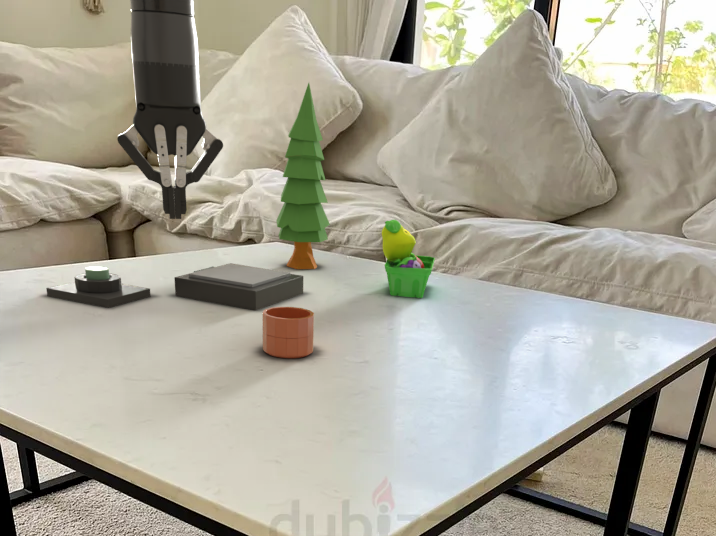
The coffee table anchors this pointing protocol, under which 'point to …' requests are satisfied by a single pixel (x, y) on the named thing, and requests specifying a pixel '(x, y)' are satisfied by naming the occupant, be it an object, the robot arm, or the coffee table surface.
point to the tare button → (97, 273)
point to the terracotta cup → (288, 332)
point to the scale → (239, 286)
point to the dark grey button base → (98, 291)
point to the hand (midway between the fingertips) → (175, 218)
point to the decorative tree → (303, 188)
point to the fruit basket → (404, 262)
